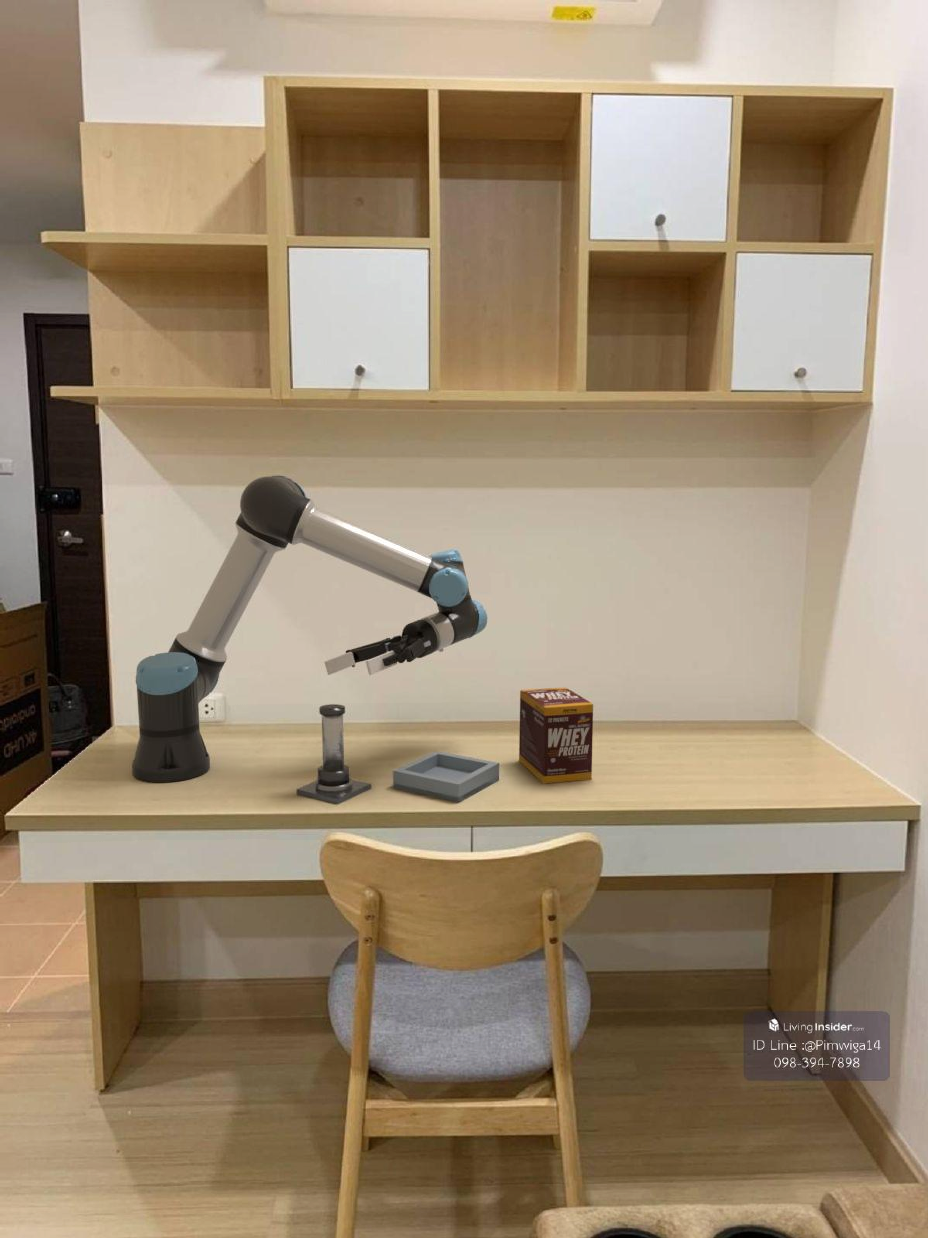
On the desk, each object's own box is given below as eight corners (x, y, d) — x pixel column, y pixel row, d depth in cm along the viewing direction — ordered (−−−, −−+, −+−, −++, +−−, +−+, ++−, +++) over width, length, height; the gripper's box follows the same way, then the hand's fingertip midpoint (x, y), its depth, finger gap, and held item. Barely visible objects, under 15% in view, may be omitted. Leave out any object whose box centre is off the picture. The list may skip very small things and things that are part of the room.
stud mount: (296, 794, 175) (296, 784, 175) (330, 779, 184) (330, 769, 184) (337, 804, 170) (337, 793, 170) (370, 788, 179) (370, 778, 178)
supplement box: (543, 784, 181) (544, 707, 179) (518, 761, 196) (519, 689, 193) (592, 779, 184) (594, 703, 182) (564, 757, 199) (565, 686, 196)
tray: (393, 788, 179) (393, 770, 178) (436, 767, 192) (436, 750, 191) (458, 802, 171) (458, 784, 171) (499, 779, 184) (499, 762, 183)
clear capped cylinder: (311, 782, 176) (309, 708, 173) (331, 774, 181) (330, 702, 179) (335, 788, 173) (334, 713, 170) (356, 779, 178) (354, 706, 175)
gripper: (471, 652, 184) (392, 687, 170) (393, 654, 203) (316, 685, 189) (463, 616, 183) (382, 648, 169) (385, 621, 201) (306, 650, 187)
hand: (347, 668), depth 179 cm, fingers open, 13 cm apart
